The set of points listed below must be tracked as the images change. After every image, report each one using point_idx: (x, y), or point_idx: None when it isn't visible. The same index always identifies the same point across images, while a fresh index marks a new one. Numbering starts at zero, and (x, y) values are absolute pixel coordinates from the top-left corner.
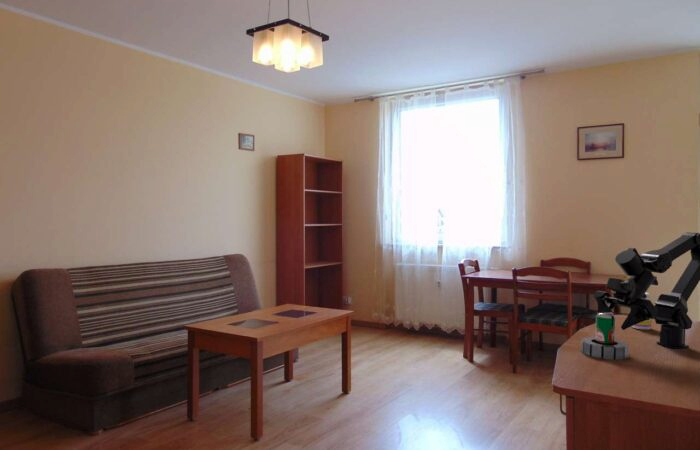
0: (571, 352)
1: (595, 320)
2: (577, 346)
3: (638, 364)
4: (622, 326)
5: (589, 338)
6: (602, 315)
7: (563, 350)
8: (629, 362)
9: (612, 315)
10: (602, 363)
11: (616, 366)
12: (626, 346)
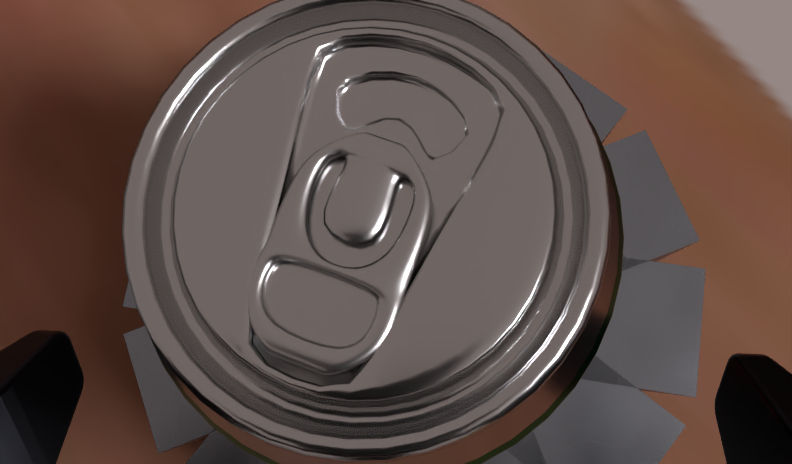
0: (583, 22)
1: (760, 360)
2: (778, 280)
3: (5, 307)
4: (17, 341)
5: (636, 256)
6: (306, 18)
7: (675, 2)
8: (88, 282)
9: (141, 250)
10: (180, 10)
11: (63, 53)
12: (145, 396)
